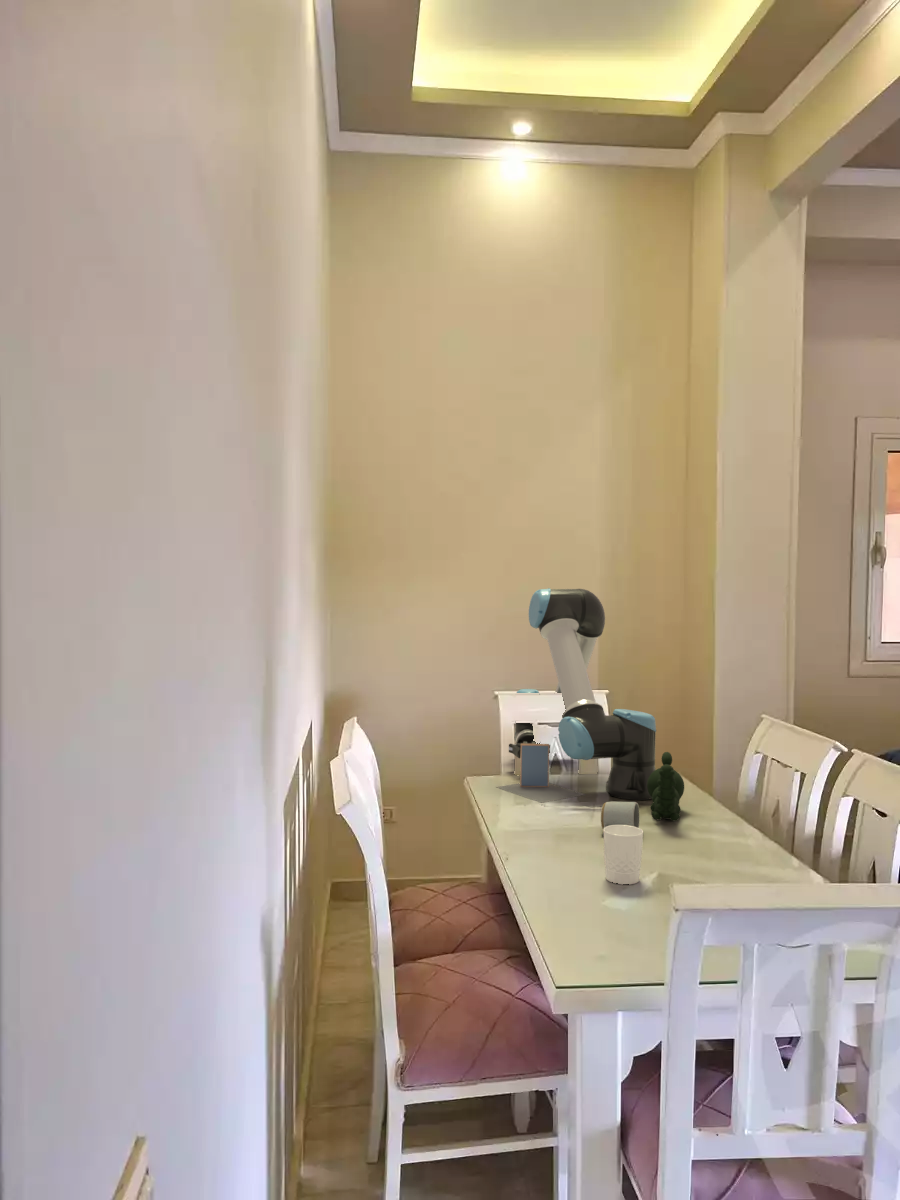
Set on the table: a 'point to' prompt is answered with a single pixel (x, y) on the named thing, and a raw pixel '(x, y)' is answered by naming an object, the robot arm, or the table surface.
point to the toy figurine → (665, 790)
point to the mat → (542, 792)
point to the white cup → (622, 853)
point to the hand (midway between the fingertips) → (532, 759)
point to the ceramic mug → (620, 814)
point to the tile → (534, 765)
